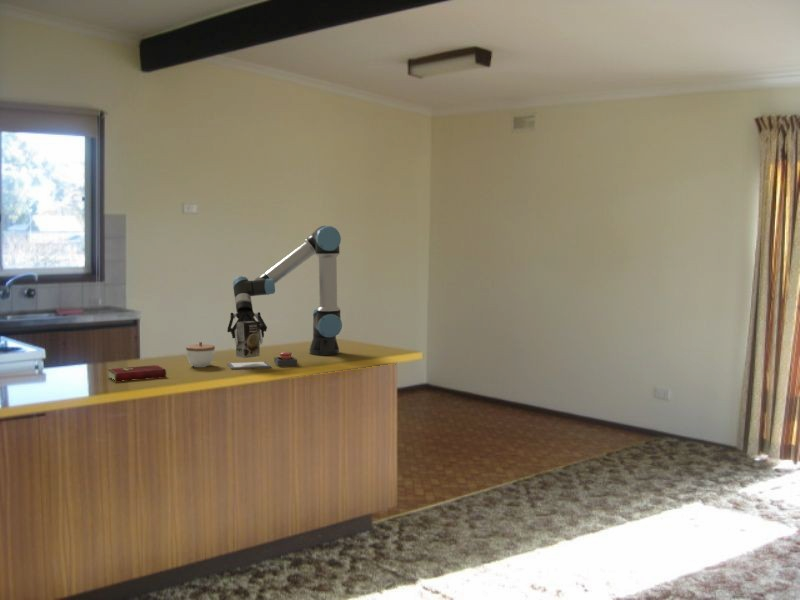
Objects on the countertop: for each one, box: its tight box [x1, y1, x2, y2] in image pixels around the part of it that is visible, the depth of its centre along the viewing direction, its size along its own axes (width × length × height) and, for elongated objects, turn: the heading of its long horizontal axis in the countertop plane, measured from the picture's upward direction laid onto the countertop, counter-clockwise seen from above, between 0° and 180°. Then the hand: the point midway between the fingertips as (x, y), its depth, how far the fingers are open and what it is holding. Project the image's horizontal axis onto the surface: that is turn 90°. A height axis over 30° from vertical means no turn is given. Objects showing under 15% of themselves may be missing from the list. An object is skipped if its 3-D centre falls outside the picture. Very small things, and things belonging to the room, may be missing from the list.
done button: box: [279, 351, 292, 360], centre depth 370 cm, size 6×6×3 cm
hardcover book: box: [107, 364, 167, 382], centre depth 334 cm, size 12×21×4 cm, turn 124°
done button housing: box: [273, 356, 298, 367], centre depth 370 cm, size 9×9×3 cm
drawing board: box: [226, 361, 272, 370], centre depth 364 cm, size 18×13×1 cm
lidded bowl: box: [185, 341, 216, 368], centre depth 362 cm, size 13×13×11 cm
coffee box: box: [235, 320, 261, 359], centre depth 363 cm, size 9×6×16 cm
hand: (249, 343), depth 361 cm, fingers closed on coffee box, 11 cm apart
